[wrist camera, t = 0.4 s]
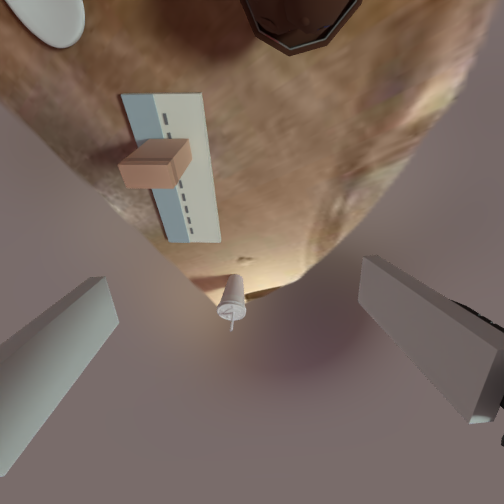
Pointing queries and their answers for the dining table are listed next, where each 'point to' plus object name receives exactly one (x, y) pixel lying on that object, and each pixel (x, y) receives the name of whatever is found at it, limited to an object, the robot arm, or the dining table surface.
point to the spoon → (52, 19)
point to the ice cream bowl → (298, 22)
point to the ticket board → (198, 171)
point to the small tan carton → (156, 164)
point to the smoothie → (232, 300)
